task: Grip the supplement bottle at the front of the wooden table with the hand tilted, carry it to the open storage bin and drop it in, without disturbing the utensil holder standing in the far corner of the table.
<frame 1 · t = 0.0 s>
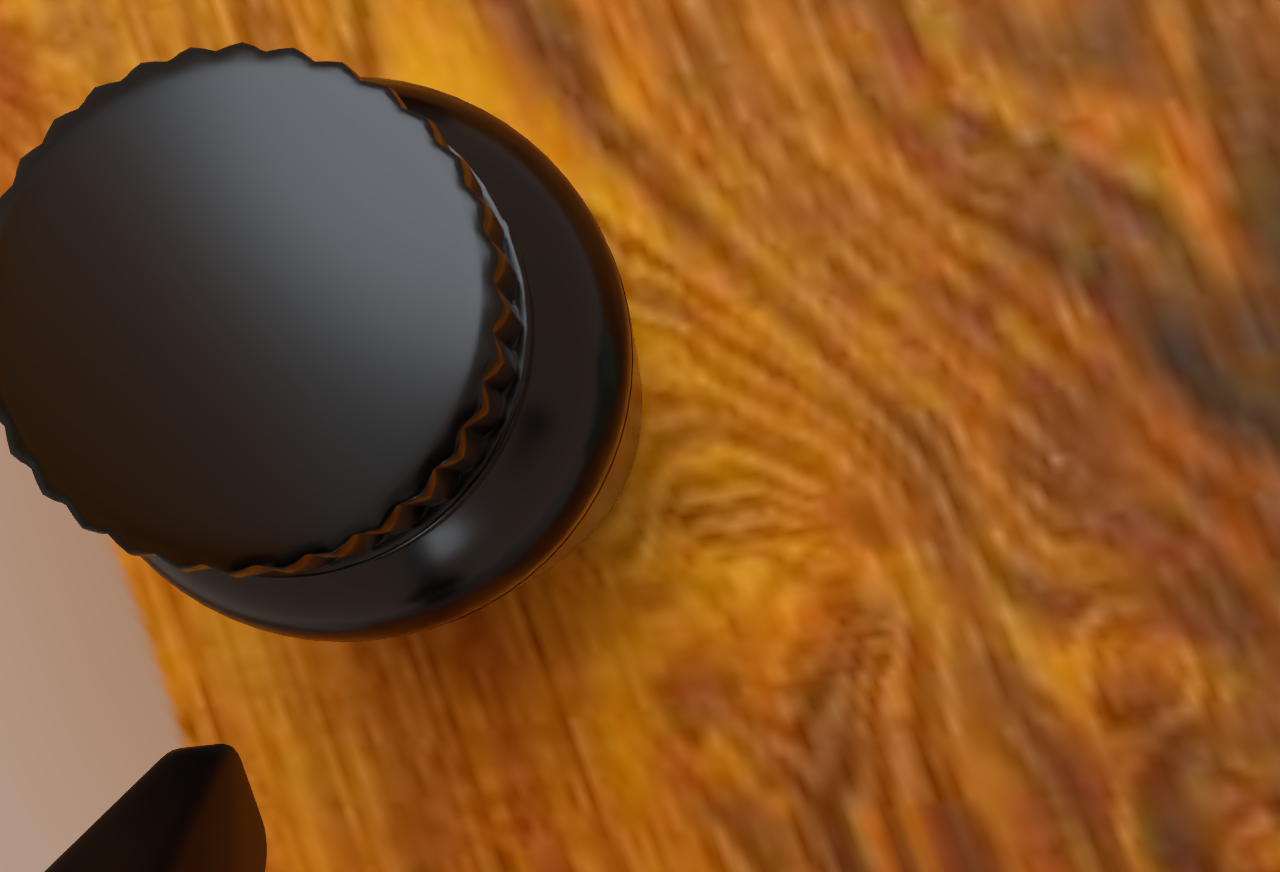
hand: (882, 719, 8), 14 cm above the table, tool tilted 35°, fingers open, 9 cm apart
supplement bottle: (460, 409, 22), on the table
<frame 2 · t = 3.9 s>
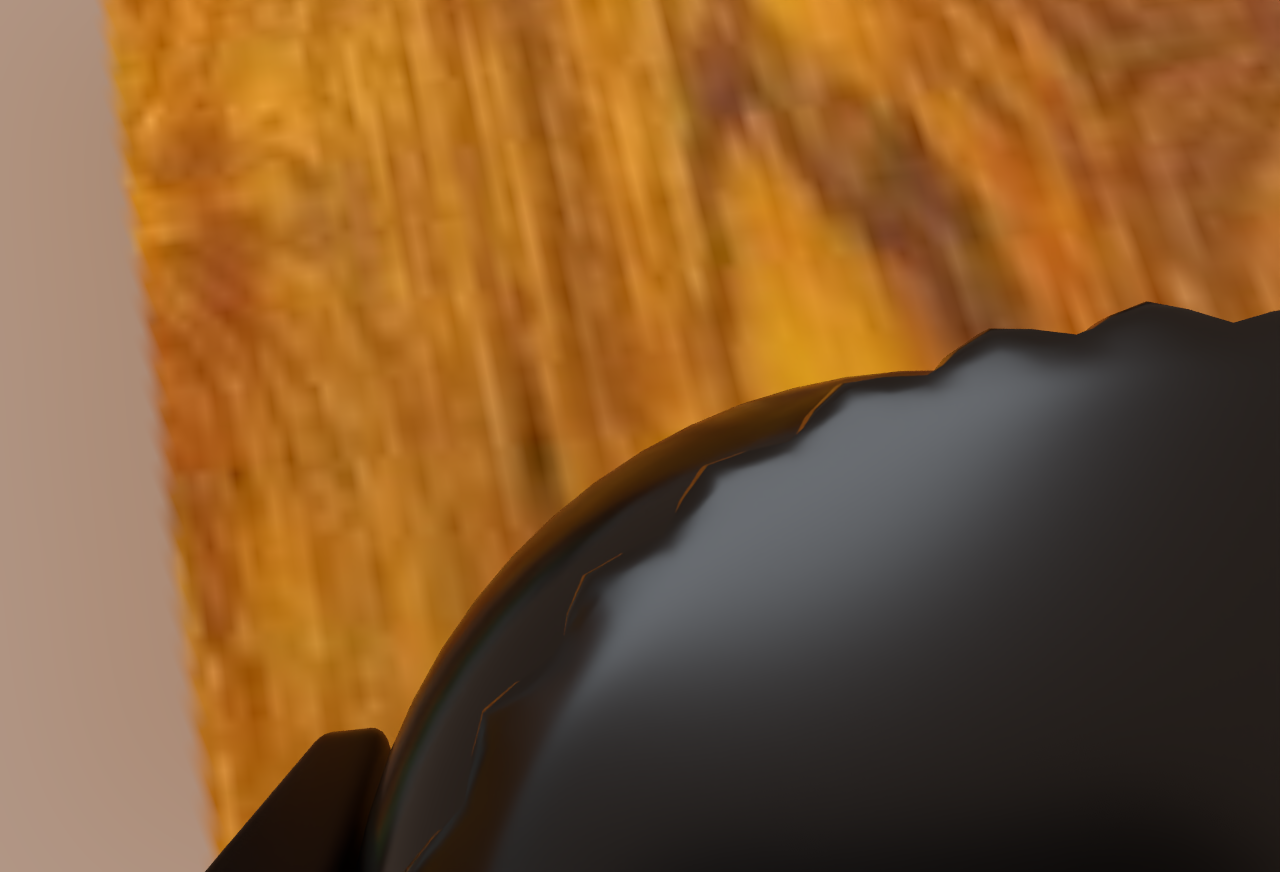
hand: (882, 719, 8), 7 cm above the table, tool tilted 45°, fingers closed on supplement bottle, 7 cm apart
supplement bottle: (803, 852, 14), on the table, touching gripper
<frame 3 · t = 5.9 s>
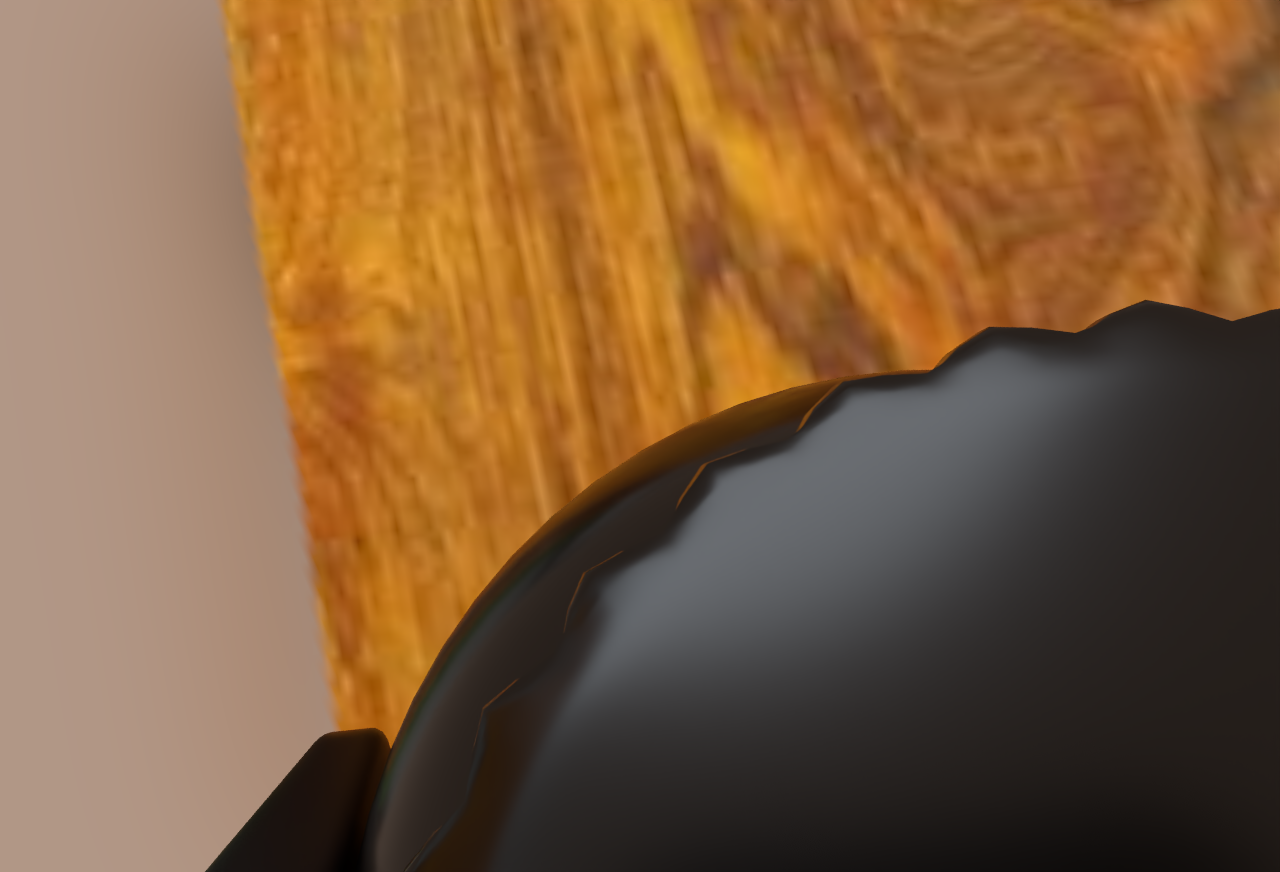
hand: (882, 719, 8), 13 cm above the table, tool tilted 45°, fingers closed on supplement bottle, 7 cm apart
supplement bottle: (803, 852, 14), point 6 cm above the table, touching gripper
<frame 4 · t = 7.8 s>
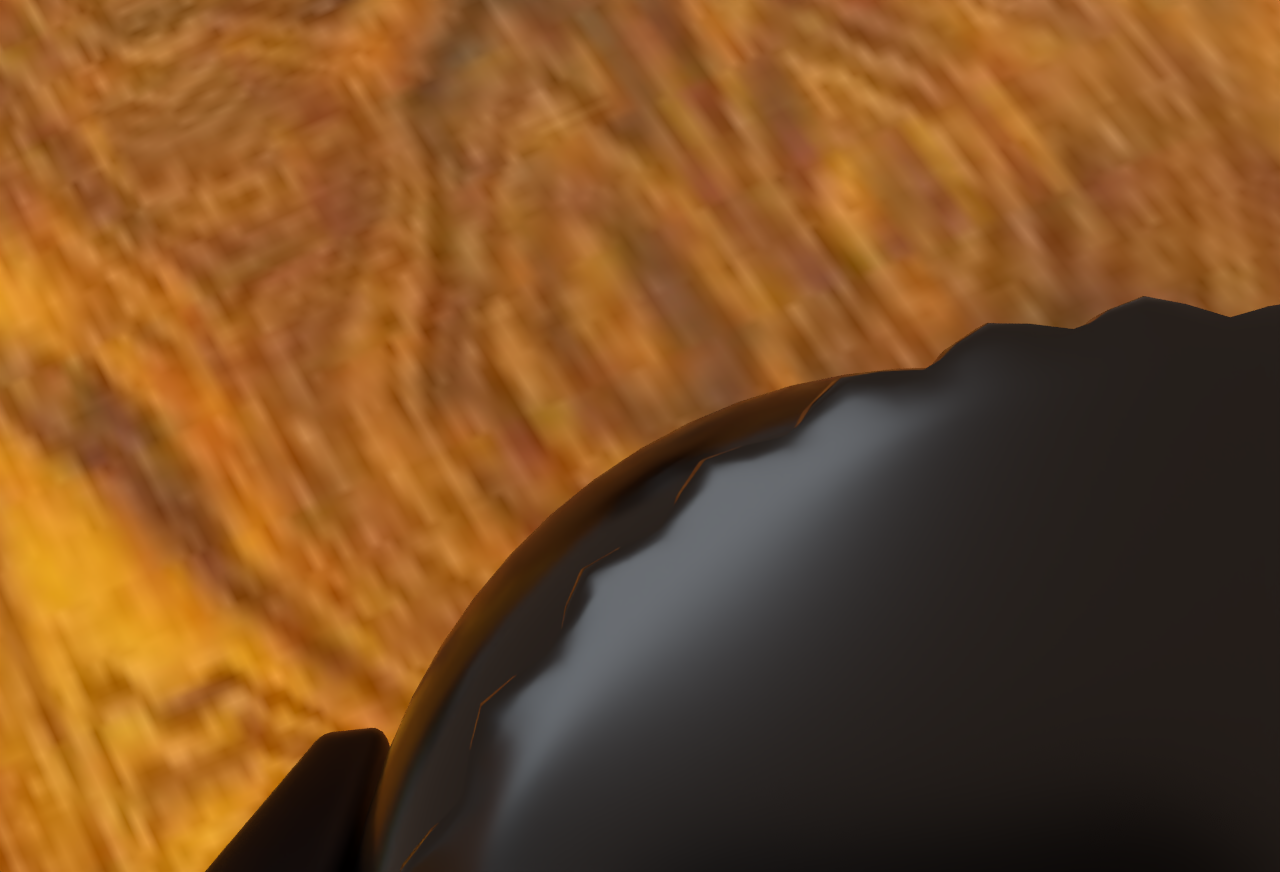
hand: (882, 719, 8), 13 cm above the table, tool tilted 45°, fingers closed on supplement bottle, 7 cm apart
supplement bottle: (803, 851, 14), point 6 cm above the table, touching gripper
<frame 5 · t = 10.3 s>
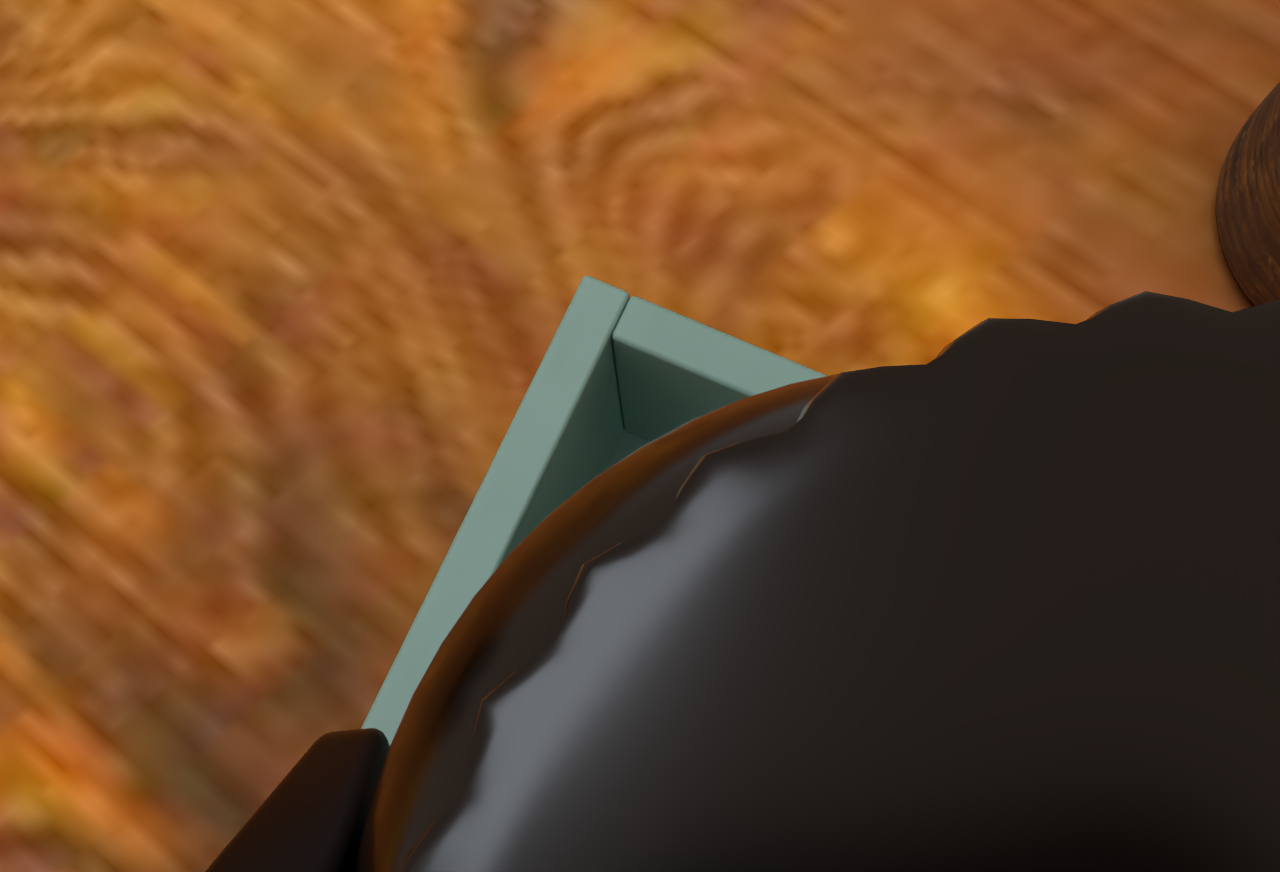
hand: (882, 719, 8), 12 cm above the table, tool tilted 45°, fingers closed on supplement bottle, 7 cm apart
supplement bottle: (803, 850, 14), point 5 cm above the table, touching gripper
open storage bin: (765, 805, 20), on the table
when the fingers open (7 cm above the table, at t = 12.2 s): supplement bottle stays where it is, resting on open storage bin.
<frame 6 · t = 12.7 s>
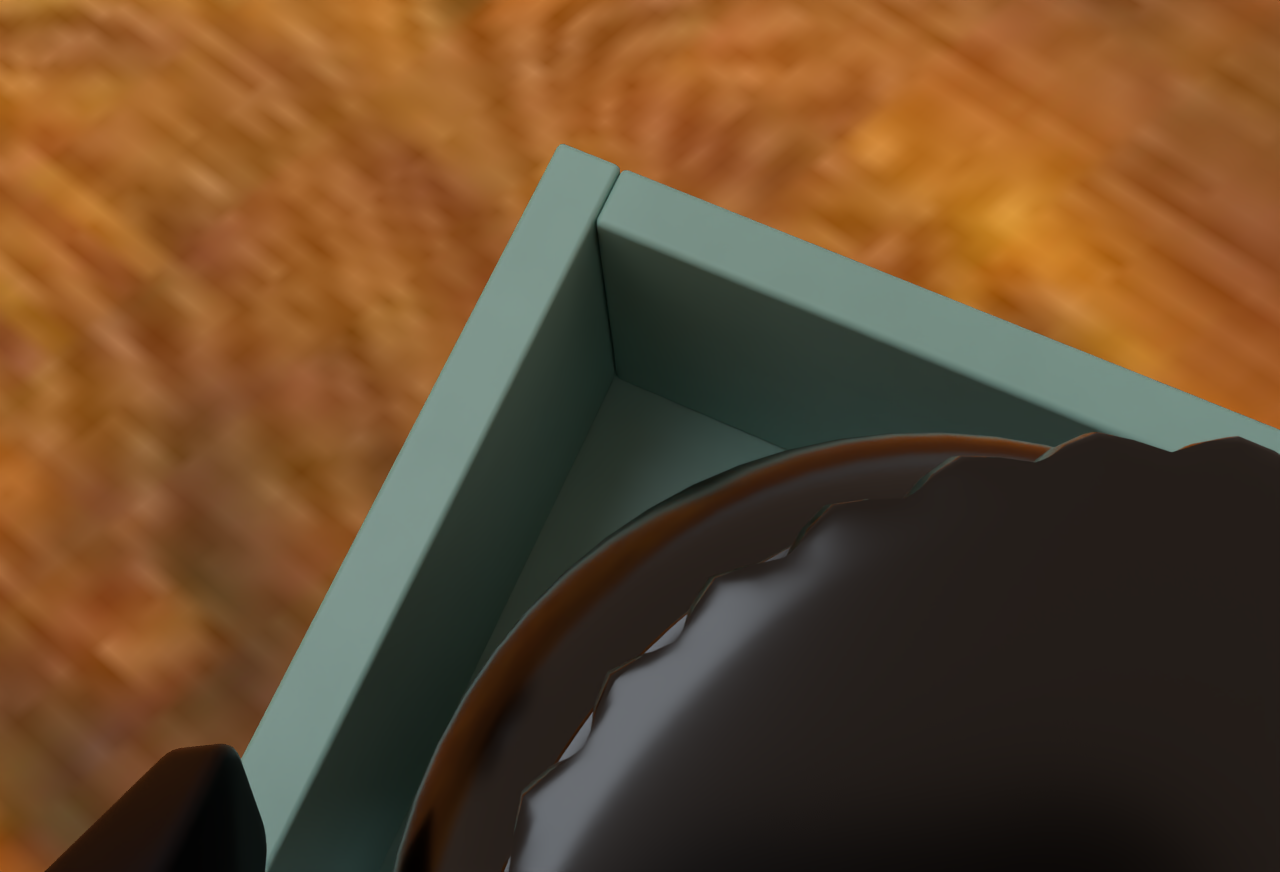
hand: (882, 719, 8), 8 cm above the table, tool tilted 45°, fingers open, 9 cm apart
supplement bottle: (802, 866, 15), resting on open storage bin
open storage bin: (796, 849, 15), on the table
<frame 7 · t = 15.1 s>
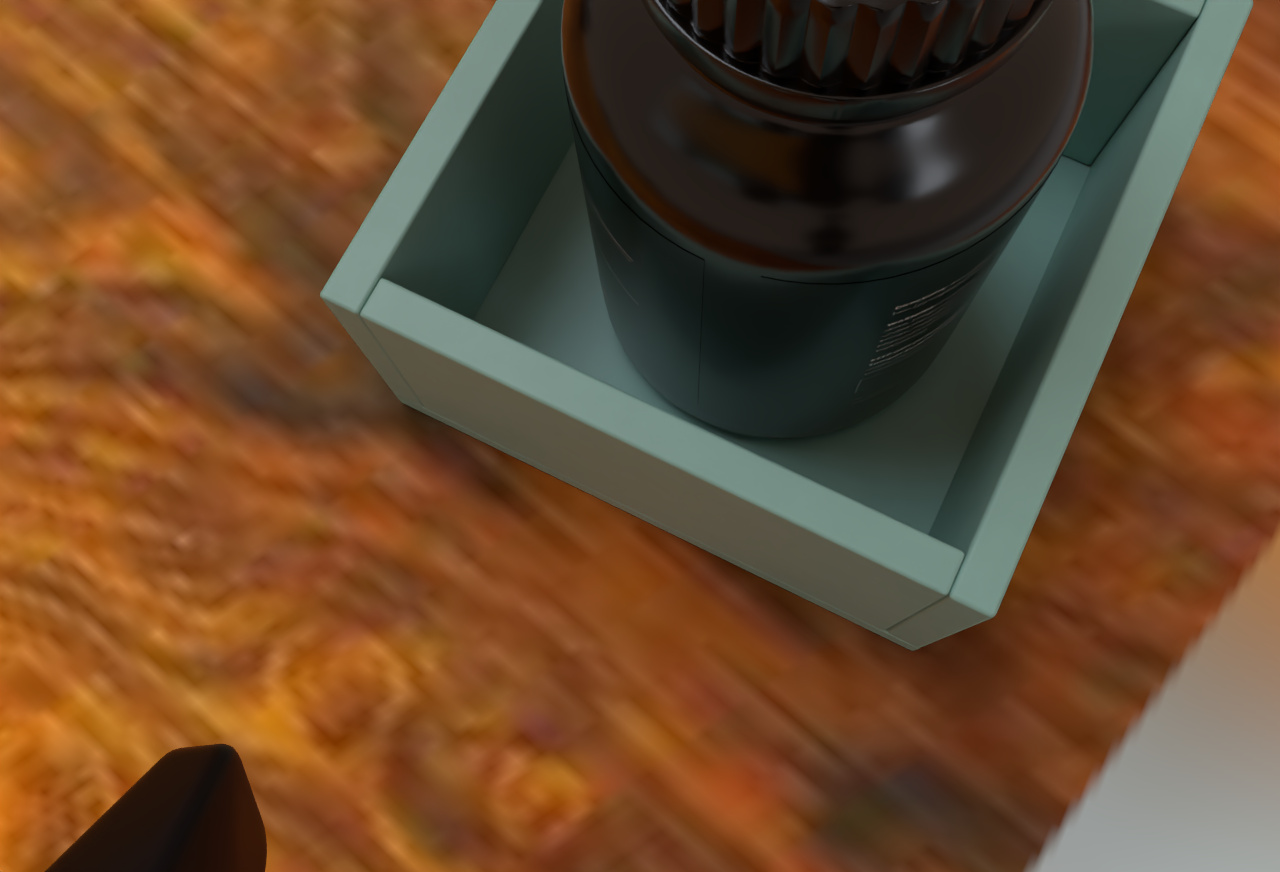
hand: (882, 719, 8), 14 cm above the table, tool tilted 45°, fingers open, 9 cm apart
supplement bottle: (772, 282, 23), resting on open storage bin
open storage bin: (769, 282, 24), on the table
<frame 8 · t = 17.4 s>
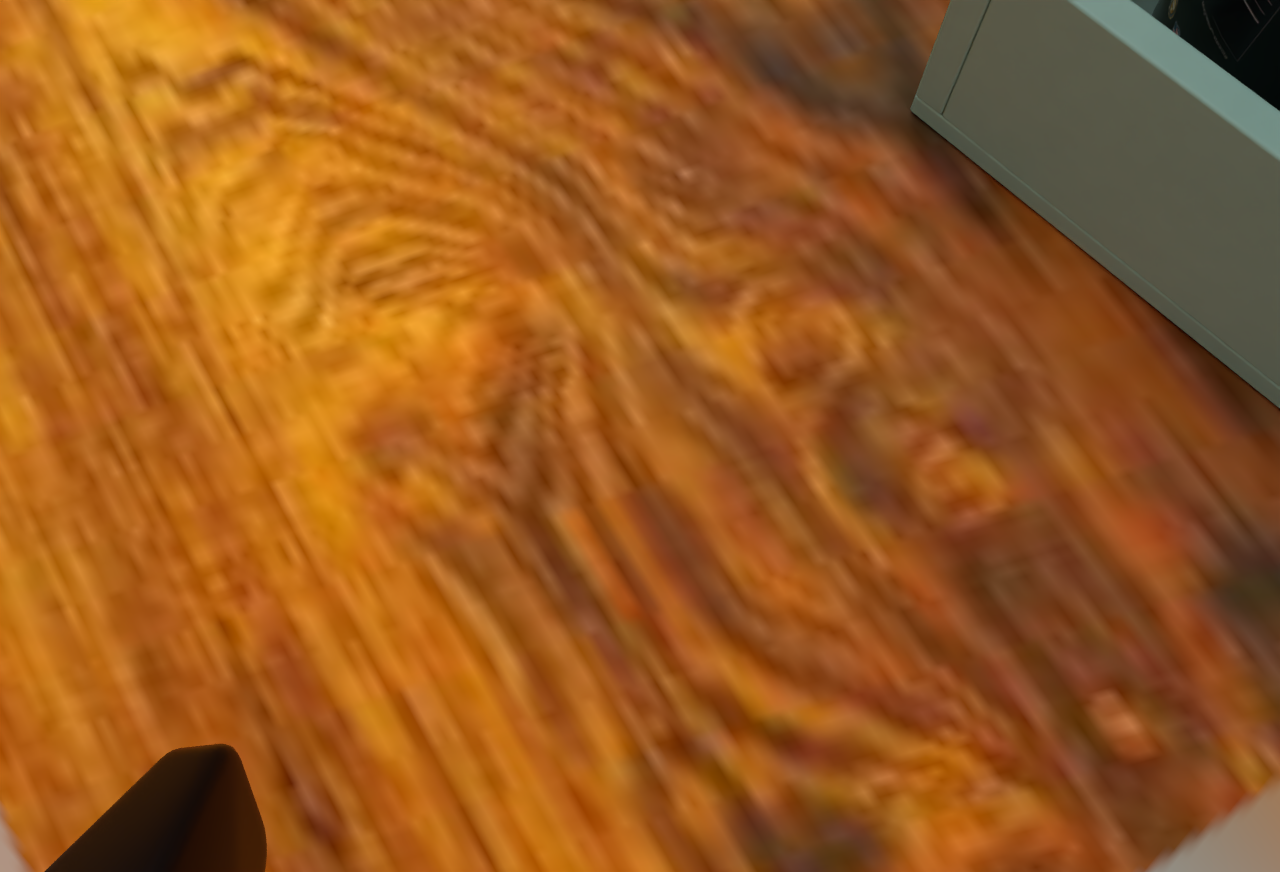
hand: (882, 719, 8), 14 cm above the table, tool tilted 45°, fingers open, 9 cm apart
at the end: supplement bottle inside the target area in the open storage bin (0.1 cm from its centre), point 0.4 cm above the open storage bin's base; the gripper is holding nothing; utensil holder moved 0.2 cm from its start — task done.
